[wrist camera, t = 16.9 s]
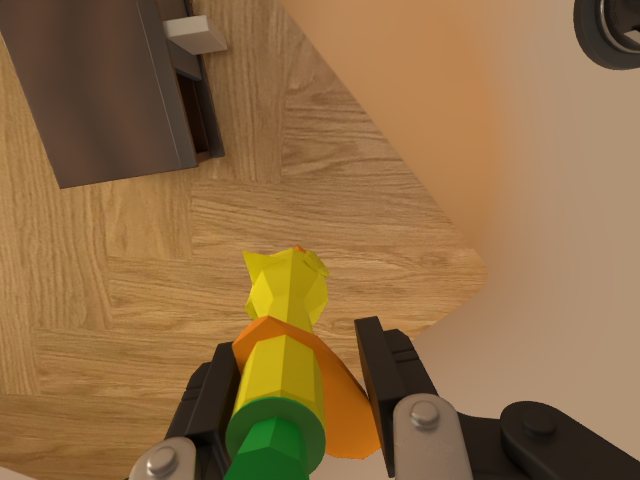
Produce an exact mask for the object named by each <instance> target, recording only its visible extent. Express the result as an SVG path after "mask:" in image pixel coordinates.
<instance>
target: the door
mask: <svg viewBox="0 0 640 480" xmlns="http://www.w3.org/2000/svg"><path fill="white" fill-rule="evenodd" d="M157 1H158V5H159V9H160V13H161V16H162V20H163V24H164V28H165V32H166V36H167V40H168V44H169V48H170V52H171V56H172V60H173V64H174V68H175V72H176V73H178V74H181V75H183V76H185V77H188V78H190V79H192V80H195V81H200V80H202V77H201V72H200V68H199V64H198V60H197V54H203V53H209V52H216V51H222V50H227V46H226V41H225V37H224V36H223V35H222V34H221V32H220V31H219V30H218V29H217V28H216V26H215V25H214V24H213V23H212V22H211V21H210V19H209V18H208V17H207V16H206V15H199V16H193V17H187V12H186V8H185V4H184V0H157Z"/></svg>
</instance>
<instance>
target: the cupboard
mask: <svg viewBox="0 0 640 480" xmlns="http://www.w3.org/2000/svg"><path fill="white" fill-rule="evenodd" d="M184 4H185V8H186V12H187V17H193V12H192V8H191V3H190V0H184ZM0 32H1V35H2V38H3V40H4V43H5V46H6V48H7V51H8V53H9V56H10V59H11V61H12V64H13V67H14V69H15V72H16V75H17V77H18V80H19V83H20V85H21V88H22V91H23V93H24V96H25V99H26V101H27V104H28V106H29V109H30V112H31V114H32V117H33V120H34V122H35V125H36V128H37V130H38V133H39V136H40V138H41V141H42V144H43V146H44V149H45V151H46V154H47V157H48V159H49V162H50V165H51V167H52V170H53V173H54V175H55V178H56V181H57V183H58V186H59V188H60V189H63V188H70V187H76V186H82V185H88V184H94V183H101V182H107V181H113V180H119V179H126V178H132V177H138V176H144V175H150V174H157V173H163V172H169V171H175V170H183V169H189V168H195V167H199V163H201V162H203V161H206V160H209V159H211V158H217V157H223V156H225V152H224V148H223V144H222V139H221V135H220V130H219V126H218V122H217V117H216V113H215V108H214V104H213V100H212V95H211V91H210V87H209V82H208V78H207V73H206V69H205V65H204V60H203V56H202V54H197V60H198V64H199V68H200V72H201V77H202V80H200V81H195V80H192V79H190V78H188V77H185V76H183V75H181V74H178V73H176V72H175V68H174V64H173V60H172V56H171V52H170V48H169V44H168V40H167V36H166V32H165V28H164V24H163V20H162V16H161V13H160V9H159V5H158V1H157V0H0Z"/></svg>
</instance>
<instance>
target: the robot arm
mask: <svg viewBox="0 0 640 480" xmlns="http://www.w3.org/2000/svg"><path fill="white" fill-rule="evenodd" d="M595 15H596V23H597V27H598V30H599V32H600V34H601V36H602V38H603V39H604V41H605V42H606V43H607V44H608V45H609V46H610V47H612V48H613V49H615V50H616V51H619V52H621V53H625V54H640V0H596V6H595ZM354 323H355V330H356V336H357V343H358V349H359V355H360V362H361V367H362V372H363V377H364V382H365V385H366V389H367V393H368V397H369V401H370V404H371V409H372V413H373V417H374V421H375V425H376V429H377V433H378V437H379V440H380V444H381V448H382V452H383V456H384V460H385V464H386V468H387V472H388V476H389V478H393V477H395V480H640V462H639V461H638V460H636V459H635V458H633V457H631V456H630V455H628V454H627V453H625V452H624V451H622V450H620V449H619V448H618V447H616V446H614V445H613V444H611V443H609V442H608V441H607V440H605V439H603V438H602V437H600V436H599V435H597V434H596V433H594V432H593V431H591V430H589V429H588V428H586V427H585V426H583V425H582V424H580V423H579V422H577V421H575V420H574V419H572V418H571V417H569V416H568V415H566V414H564V413H563V412H561V411H559V410H558V409H556V408H554V407H552V406H549V405H546V404H543V403H539V402H533V401H520V402H515V403H512V404H510V405H508V406H507V407H506V408H505V409H504V410H503V411H502V413H501V416H500V419H491V418H481V417H472V416H468V415H465V414H462V413H459V412H457V411H456V410H455V409H454V407H453V406H452V405H451V404H450V403H449V402H448V401H446V400H444V399H443V398H441V397H439V395H438V393H437V391H436V389H435V387H434V385H433V383H432V381H431V379H430V378H429V376H428V374H427V372H426V370H425V368H424V366H423V364H422V362H421V360H420V359H419V356H418V354H417V352H416V351H415V349H414V347H413V345H412V343H411V341H410V339H409V337H408V336H406V335H405V334H404V333H402V332H401V331H399V330H398V329H393V330H387V331H383V329H382V327H381V324H380V322H379V319H378V317H377V316H373V317H368V318H362V319H357V320H354ZM233 342H234V341H232V342H227V343H221V344H218V346H217V348H216V351H215V354H214V356H213V359H212V362H207V363H203V364H202V365H201V366H200V367H199V368H198V369H197V370H196V371H195V372H194V373H193V375H192V376H191V378H190V380H189V383H188V385H187V387H186V391H185V392H184V394H183V397H182V399H181V402H180V404H179V406H178V408H177V411H176V413H175V415H174V418H173V420H172V422H171V425H170V427H169V429H168V432H167V434H166V436H165V438H164V440H163V441H161V442H159V443H157V444H156V445H154V446H152V447H151V448H150V449H148V450H147V451H146V452H145V453H144V454H143V455H142V456H141V457H140V458H139V459H138V460H137V462H136V463H135V465H134V466H133V468H132V470H131V473H130V476H129V478H127V479H125V480H223V478H224V476H225V475H226V473H227V471H228V469H229V467H230V466H231V464H232V460H231V458H230V456H229V454H228V452H227V448H226V443H225V439H226V431H227V427H228V424H229V422H230V420H231V417H232V413H233V409H234V405H235V400H236V396H237V392H238V388H239V384H240V380H241V375H240V371H239V368H238V365H237V362H236V358H235V356H234V352H233V349H232V344H233Z"/></svg>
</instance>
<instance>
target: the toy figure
mask: <svg viewBox="0 0 640 480" xmlns="http://www.w3.org/2000/svg"><path fill="white" fill-rule="evenodd" d="M242 254H243V256H244V259H245V262H246V265H247V268H248V271H249V274H250V277H251V280H252V283H253V286H252V289H251V292H250V295H249V296H250V297H249V298H248V300H247V302H246V304H245V307H244V310H245V311H246V312H247V314H248V315H249V316H250V317H251V319H252V320H253V322H252V323H251V324H249V325H248V326H247V327H246V328H245V329H244V331H243V332H242V333H241V334H240V335H239V337H238V338H237V339H236V340H235V341H234V342H233V344H232V349H233V352H234V356H235V358H236V362H237V365H238V368H239V371H240V375H241V380H240V384H239V388H238V392H237V396H236V400H235V405H234V409H233V413H232V417H231V420H230V422H229V424H228V427H227V431H226V439H225V443H226V448H227V452H228V454H229V456H230V458H231V460H232V464H231V466H230V467H229V469H228V471H227V473H226V475H225V476H224V478H223V480H309V474H311V473H312V472H313V471H314V470H315V469H316V468H317V467H318V465H319V464H320V462H321V461H322V458H323V456H324V453H326V454H329V455H331V456H333V457H338V458H351V459H364V458H366V457H367V456H369V455H370V454H372V453H373V452H375V451H376V450H378V449H379V448H381V444H380V440H379V437H378V433H377V429H376V425H375V421H374V417H373V413H372V409H371V404H370V401H369V399H368V397H367V394H366V392H365V391H364V390H363V388H362V387H361V385H360V384H359V383H358V382H357V380H356V379H355V378H354V376H353V375H352V374H351V372H350V371H349V370H348V369H347V367H346V366H345V365H344V363H343V362H342V361H341V360H340V359H339V358H338V357H337V356H336V355H335V354H334V353H333V352H332V351H331V350H330V348H329V347H328V346H327V345H326V344H325V343H324V342H323V341H322V340H321V339H320V338H319V337H318V336H316V335H314V332H313V328H312V325H314V324H315V323H316V321H317V319H318V318H319V316H320V314H321V312H322V311H323V309H324V307H325V305H326V304H327V302H328V294H327V286H326V282H325V279H324V276H325V277H328V276H330V275H329V272H328V270H327V268H326V267H325V265H324V264H323V262H322V261H321V260H320V258H319V257H318V256H317V255H316V254H315V253H314V252H313V251H310V250H304V249H303V248H301V247H300V246H298V245H297V246H296V247H295V248H291V249H288V250H285V251H281V252H278V253H275V254H272V255H269V256H266V255H261V254H255V253H250V252H245V251H242Z"/></svg>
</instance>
